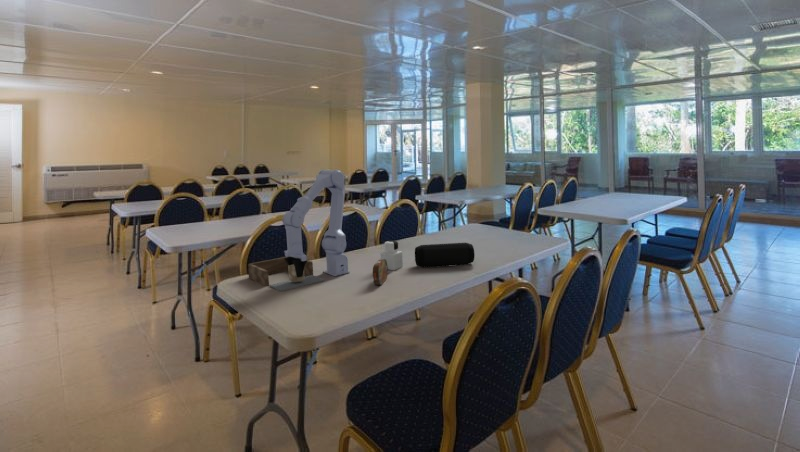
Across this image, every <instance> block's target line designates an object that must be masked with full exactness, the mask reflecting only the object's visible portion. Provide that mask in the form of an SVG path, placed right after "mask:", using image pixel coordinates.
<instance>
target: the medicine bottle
mask: <svg viewBox="0 0 800 452" xmlns="http://www.w3.org/2000/svg"><path fill="white" fill-rule="evenodd" d="M403 257H404V256H403V251H401V250H399V242H398V241H396V240H387V241H384V251H383V252H381V253H380V259H386V261H387V267H388V271H389V270H390V271H395V270H398V269H401V268H403V266H404V263H403V261H404V260H403Z"/></svg>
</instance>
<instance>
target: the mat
mask: <svg viewBox="0 0 800 452" xmlns="http://www.w3.org/2000/svg"><path fill="white" fill-rule="evenodd" d="M324 281H325V279H323V278H321V277H318V276H316V275H314V274H313V275H311V276H309V275H307V276H305V280H302V281H298V282H293V281H290V280H289V279H288V280H285V281H281V282H275V283H272V284H269V287H270V288H271V289H275V290H277V291H278V292H283V291H287V290H293V289H296V288H300V287H304V286H308V285H313V284H317V283H321V282H324Z"/></svg>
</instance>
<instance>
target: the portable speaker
mask: <svg viewBox="0 0 800 452" xmlns="http://www.w3.org/2000/svg"><path fill="white" fill-rule="evenodd" d="M475 256H476V254H475V249H474V245H473V244H472V243H468V242H454V243H453V242H451V243H435V244H420V245H418V246H415V248H414V261H415V264H416V266H417V267H421V268H436V267H437V266H440V267H450V266H449V265H456V266H465V265H470V264H471V263H473V262H474V261H475Z"/></svg>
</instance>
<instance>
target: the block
mask: <svg viewBox="0 0 800 452" xmlns="http://www.w3.org/2000/svg"><path fill="white" fill-rule="evenodd" d="M287 271H288V281H289V280H290V281H293V282H298V281H302V280H305V277H306V276H305V274H304V271H303V276H302V277H297V275H296V270H295V266H294V264H293V265H288V270H287Z"/></svg>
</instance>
